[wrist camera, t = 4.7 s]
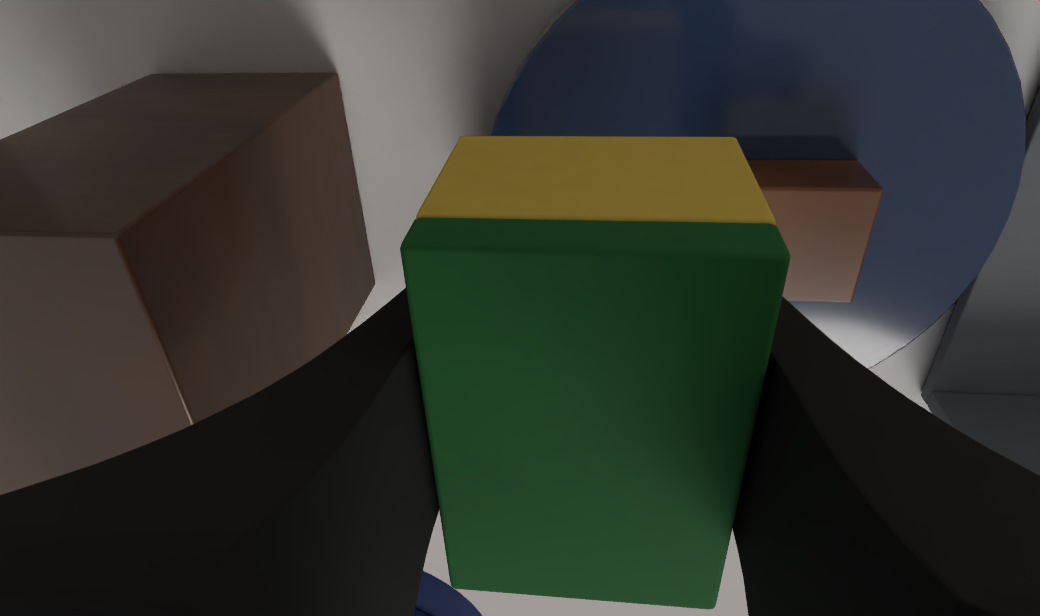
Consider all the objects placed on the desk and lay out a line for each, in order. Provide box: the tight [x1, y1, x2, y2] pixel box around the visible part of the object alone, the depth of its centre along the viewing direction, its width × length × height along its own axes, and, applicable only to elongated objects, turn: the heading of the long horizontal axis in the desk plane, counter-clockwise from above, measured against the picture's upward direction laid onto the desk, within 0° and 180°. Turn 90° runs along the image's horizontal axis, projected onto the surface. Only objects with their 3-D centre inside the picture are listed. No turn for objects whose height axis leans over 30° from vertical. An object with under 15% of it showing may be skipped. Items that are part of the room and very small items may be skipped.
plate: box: [491, 0, 1026, 369], centre depth 15 cm, size 11×11×1 cm
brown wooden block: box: [0, 73, 375, 495], centre depth 13 cm, size 4×6×8 cm
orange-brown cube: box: [747, 160, 883, 303], centre depth 13 cm, size 2×2×2 cm
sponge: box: [400, 136, 791, 609], centre depth 10 cm, size 4×6×4 cm, turn 2°
